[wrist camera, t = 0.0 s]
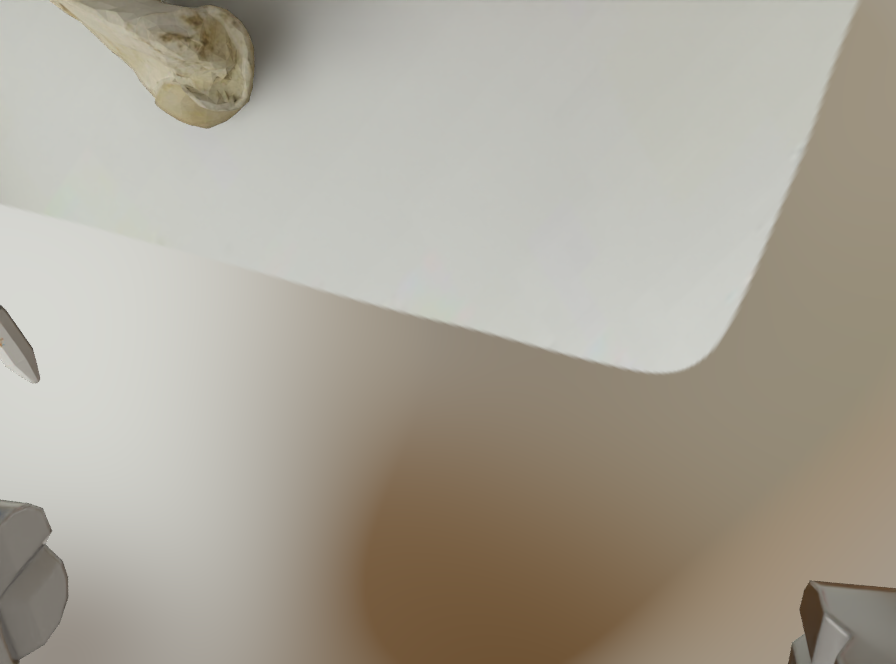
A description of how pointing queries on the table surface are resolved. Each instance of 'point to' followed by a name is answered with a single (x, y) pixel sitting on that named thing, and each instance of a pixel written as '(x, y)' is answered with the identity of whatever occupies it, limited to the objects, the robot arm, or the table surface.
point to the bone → (177, 53)
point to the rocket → (16, 349)
